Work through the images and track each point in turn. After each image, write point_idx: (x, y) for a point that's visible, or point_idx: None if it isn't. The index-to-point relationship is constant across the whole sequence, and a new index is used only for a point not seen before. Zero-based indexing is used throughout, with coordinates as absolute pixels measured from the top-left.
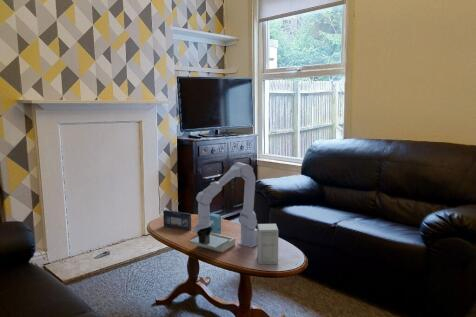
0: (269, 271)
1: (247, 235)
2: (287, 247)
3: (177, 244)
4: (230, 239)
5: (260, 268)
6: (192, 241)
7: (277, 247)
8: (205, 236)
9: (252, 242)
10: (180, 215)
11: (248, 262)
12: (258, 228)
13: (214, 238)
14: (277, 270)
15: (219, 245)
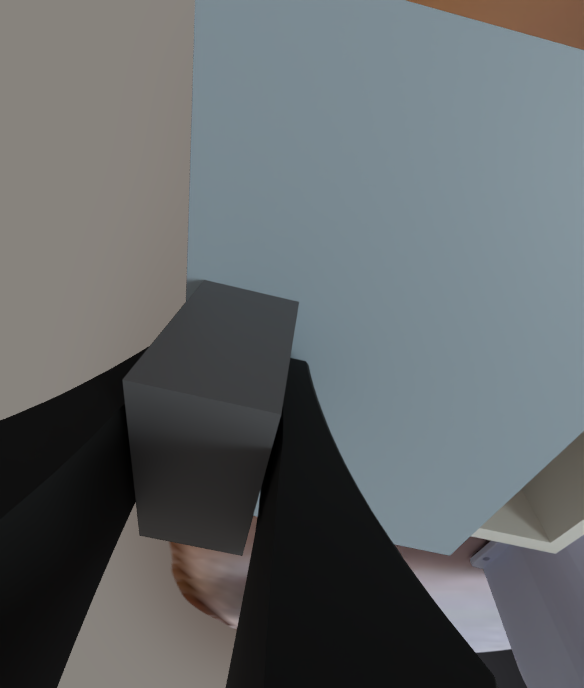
0: (200, 604)
1: (552, 649)
2: (494, 641)
3: None
4: (560, 505)
5: (208, 587)
6: (192, 103)
7: None
8: (150, 518)
9: (498, 597)
10: None
11: (242, 557)
12: None
13: (474, 435)
14: (225, 617)
15: (257, 513)
